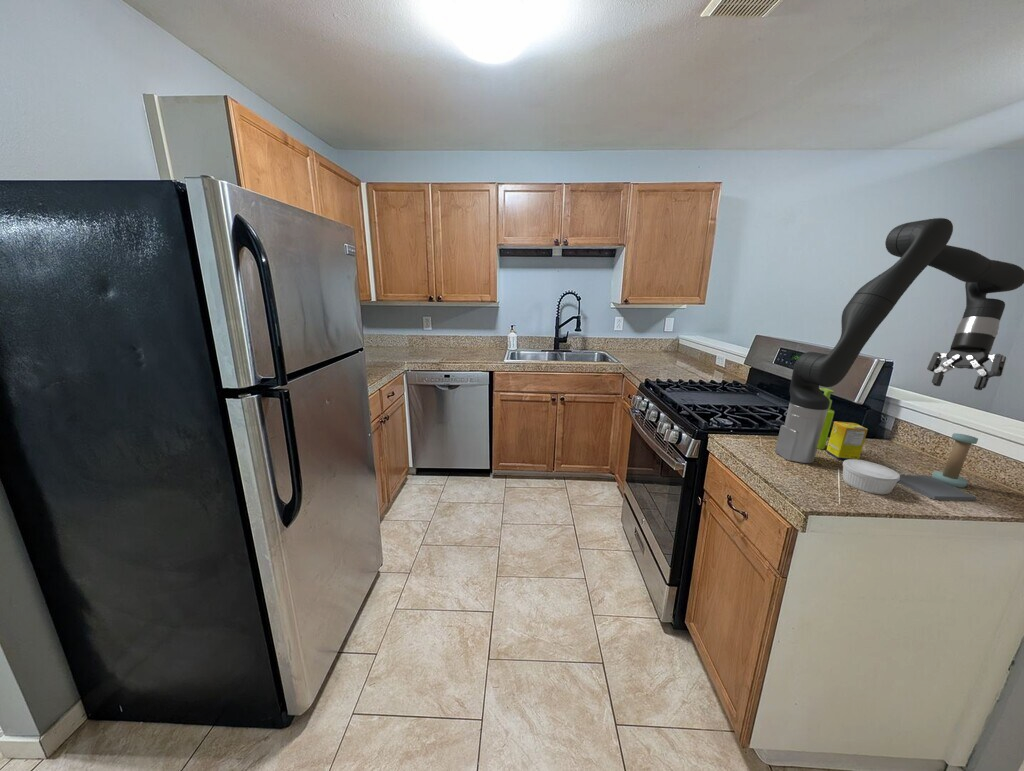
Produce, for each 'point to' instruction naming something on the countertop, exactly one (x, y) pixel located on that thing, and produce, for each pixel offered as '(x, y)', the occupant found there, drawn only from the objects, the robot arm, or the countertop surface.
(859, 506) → the countertop surface
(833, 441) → the supplement box
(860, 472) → the ramekin
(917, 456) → the countertop surface
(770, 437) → the countertop surface
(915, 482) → the mat
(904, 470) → the countertop surface
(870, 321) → the robot arm
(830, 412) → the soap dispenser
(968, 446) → the teal-flanged spool
